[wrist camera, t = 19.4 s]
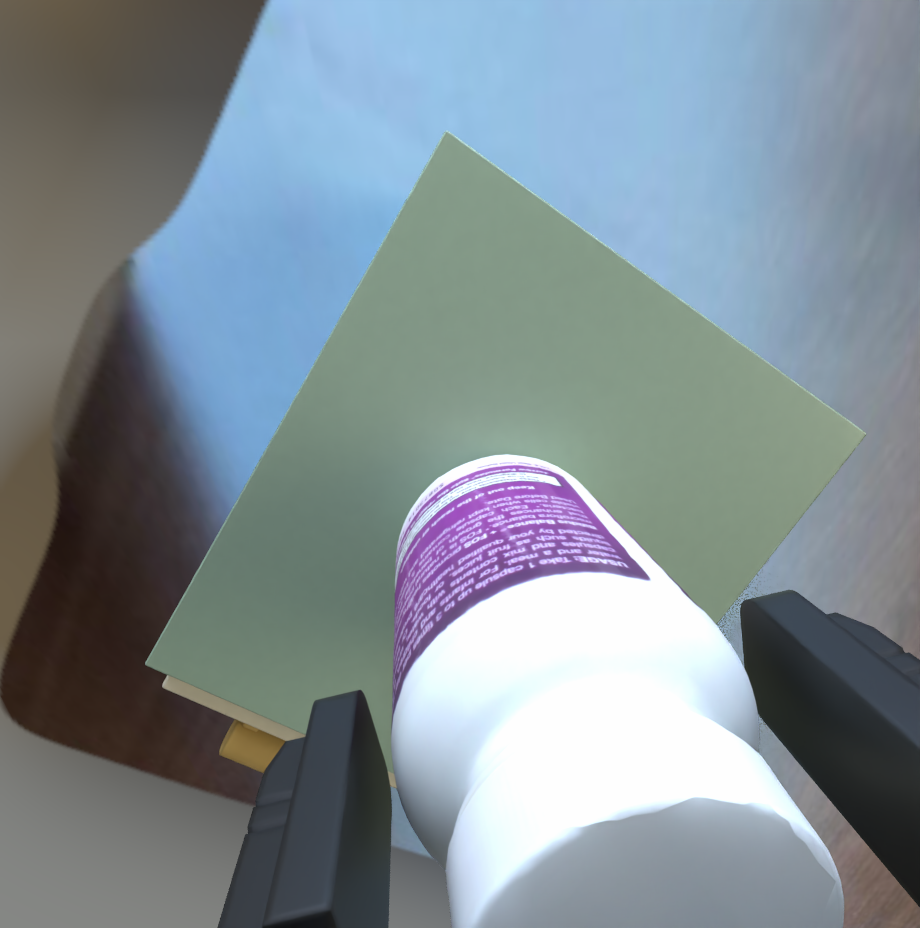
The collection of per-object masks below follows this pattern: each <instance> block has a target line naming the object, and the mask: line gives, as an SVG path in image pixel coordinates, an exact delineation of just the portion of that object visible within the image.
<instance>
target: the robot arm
mask: <svg viewBox="0 0 920 928" xmlns="http://www.w3.org/2000/svg"><path fill="white" fill-rule="evenodd" d="M740 616H741V629H742V641H743V653H744V666H745V671H746V673H747V675H748V678H749V681H750V684H751V687H752V690H753V693H754V697H755V700H756V705H757V711H758V714H759V715H760V717H761V718H762V719H763V721H764V722H765V723H766V724H767V726H768V727H769V728H770V729H771V730H772V732H773V733H774V734H775V735H776V736H777V738H778V739H779V740H780V741H781V742H782V744H783V745H784V746H785V747H786V748H787V750H788V751H789V752H790V753H791V754H792V755H793V757H794V758H795V759H796V760H797V761H798V763H799V764H800V765H801V766H802V767H803V769H804V770H805V771H806V772H807V773H808V775H809V776H810V777H811V778H812V779H813V781H814V782H815V783H816V784H817V785H818V787H819V788H820V789H821V790H822V791H823V792H824V794H825V795H826V796H827V797H828V798H829V800H830V801H831V802H832V803H833V804H834V806H835V807H836V808H837V809H838V810H839V812H840V813H841V814H842V815H843V816H844V818H845V819H846V820H847V821H848V822H849V823H850V825H851V826H852V827H853V828H854V829H855V831H856V832H857V833H858V834H859V835H860V837H861V838H862V839H863V840H864V841H865V843H866V844H867V845H868V846H869V847H870V849H871V850H872V851H873V852H874V853H875V855H876V856H877V857H878V858H879V859H880V860H881V862H882V863H883V864H884V865H885V866H886V868H887V869H888V870H889V871H890V872H891V874H892V875H893V876H894V877H895V878H896V880H897V881H898V882H899V883H900V884H901V886H902V887H903V888H904V889H905V890H906V891H907V893H908V894H909V895H910V896H911V897H912V899H913V900H914V901H915V902H916V903H917V905H918V906H919V907H920V660H919V659H917V658H916V657H914V656H913V655H912V654H910V653H905V652H904V651H903V648H902V647H900V646H899V645H898V644H896V643H895V642H893V641H892V640H891V639H889V638H888V637H886V636H885V635H884V634H882V633H881V632H879V631H878V630H877V629H875V628H874V627H872V626H869V625H866V624H864V623H861V622H859V621H856V620H854V619H851V618H849V617H846V616H844V615H841V614H838V613H832V614H827V615H826V614H825V613H824V612H822V611H821V610H820V609H818V608H817V607H816V606H814V605H813V604H812V603H810V602H809V601H808V600H807V599H805V598H804V597H803V596H801V595H800V594H799V593H797V592H795V591H793V590H786V591H782V592H778V593H773V594H769V595H765V596H761V597H756V598H752V599H748V600H744V601H743V603H742V604H741V609H740ZM255 802H256V807H254V808H253V811H252V814H251V818H250V821H249V824H248V834H246V835H245V838H244V841H243V844H242V848H241V851H240V855H239V858H238V861H237V864H236V868H235V871H234V874H233V878H232V881H231V885H230V888H229V891H228V895H227V898H226V901H225V904H224V908H223V912H222V914H221V918H220V921H219V924H218V928H388V921H389V918H388V917H389V887H390V885H389V884H390V852H391V818H392V799H391V788H390V781H389V775H388V770H387V766H386V763H385V759H384V756H383V753H382V749H381V746H380V743H379V739H378V736H377V733H376V729H375V726H374V723H373V720H372V716H371V713H370V710H369V706H368V703H367V700H366V697H365V695H364V693H363V691H362V690H356V691H352V692H348V693H343V694H339V695H335V696H331V697H326V698H322V699H318V700H315V701H314V703H313V706H312V710H311V714H310V718H309V723H308V727H307V731H306V736H305V737H302V738H298V739H294V740H289V741H285V743H284V744H283V746H282V747H281V748H280V750H279V751H278V753H277V754H276V755H275V757H274V758H273V759H272V761H271V762H270V764H269V765H268V766H267V768H266V769H265V771H264V774H263V777H262V781H261V784H260V787H259V791H258V794H257V797H256V801H255Z"/></svg>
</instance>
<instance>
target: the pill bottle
mask: <svg viewBox="0 0 920 928" xmlns="http://www.w3.org/2000/svg"><path fill="white" fill-rule="evenodd" d="M392 690H393V696H392V726H391V751H392V760H393V769H394V775H395V781H396V787H397V790H398V794H399V797H400V800H401V804H402V806H403V809H404V811H405V814H406V816H407V818H408V820H409V822H410V824H411V826H412V828H413V830H414V832H415V833H416V835H417V836H418V838H419V839H420V841H421V843H422V844H423V846H424V847H425V848H426V850H427V851H428V852H429V854H430V855H431V856H432V857H433V858H434V859H435V860H436V861H437V863H438V864H439V865H440V866H441V867H442V868H444V869H445V870H446V885H447V892H448V898H449V905H450V917H451V926H452V928H843V920H844V896H843V891H842V886H841V880H840V877H839V875H838V872H837V869H836V866H835V864H834V862H833V860H832V857H831V855H830V853H829V851H828V849H827V848H826V846H825V845H824V843H823V842H822V840H821V839H820V838H819V836H818V835H817V833H816V832H815V830H814V829H813V828H812V826H811V825H810V824H809V822H808V821H807V819H806V818H805V817H804V815H803V814H802V813H801V811H800V810H799V808H798V807H797V806H796V804H795V803H794V802H793V800H792V799H791V798H790V796H789V795H788V793H787V792H786V791H785V789H784V788H783V787H782V785H781V784H780V782H779V781H778V779H777V778H776V776H775V774H774V773H773V771H772V770H771V769H770V767H769V766H768V764H767V763H766V762H765V761H764V759H763V758H762V757H761V756H760V754H759V740H760V734H759V719H758V711H757V705H756V700H755V697H754V693H753V690H752V687H751V684H750V681H749V678H748V675H747V673H746V671H745V669H744V667H743V665H742V663H741V661H740V659H739V657H738V656H737V654H736V652H735V650H734V649H733V647H732V646H731V644H730V643H729V642H728V640H727V639H726V638H725V636H724V635H723V634H722V632H721V631H720V630H719V628H718V627H717V625H716V624H715V623H714V621H713V620H712V619H711V618H710V617H709V616H708V615H707V614H706V613H705V611H704V610H703V609H702V608H701V607H699V606H698V605H697V604H696V603H695V602H694V601H693V600H692V599H691V598H690V597H689V596H688V594H687V593H686V592H685V591H684V590H683V589H682V588H681V587H680V586H679V585H678V584H677V583H676V582H675V581H674V580H673V579H672V578H671V577H670V576H669V575H668V574H667V573H666V572H665V571H664V570H663V569H662V567H661V566H660V565H659V564H658V563H657V562H656V561H655V560H654V559H653V558H652V557H651V556H650V555H649V554H648V553H647V551H646V550H645V549H644V548H643V547H642V546H641V545H640V544H639V543H638V542H637V541H636V540H635V539H634V538H633V537H632V536H631V535H630V534H629V533H628V532H627V531H626V530H625V529H624V528H623V526H622V525H621V524H620V523H619V522H618V521H617V520H616V519H615V518H614V517H613V516H612V515H611V514H610V513H609V512H608V510H607V509H606V508H605V507H604V506H603V505H602V504H601V503H600V502H599V501H598V500H596V499H595V498H594V497H593V496H592V495H591V494H590V493H589V491H588V490H586V489H585V488H584V486H583V485H582V484H581V483H580V482H579V481H577V480H576V479H575V478H574V477H572V476H571V475H570V474H568V473H567V472H565V471H564V470H562V469H560V468H559V467H557V466H555V465H553V464H550V463H548V462H546V461H543V460H539V459H536V458H531V457H526V456H517V455H508V454H506V455H494V456H489V457H484V458H480V459H477V460H474V461H471V462H468V463H466V464H463V465H461V466H458V467H456V468H454V469H452V470H450V471H449V472H447V473H446V474H444V475H442V476H441V477H439V478H437V479H436V480H435V481H434V482H433V483H432V484H431V485H430V486H429V487H428V488H427V489H426V490H425V491H424V492H423V493H422V494H421V496H420V497H419V498H418V500H417V501H416V503H415V504H414V505H413V507H412V508H411V510H410V512H409V514H408V516H407V518H406V520H405V522H404V524H403V527H402V530H401V533H400V536H399V540H398V545H397V553H396V568H395V611H394V653H393V685H392Z"/></svg>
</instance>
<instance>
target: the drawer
mask: <svg viewBox="0 0 920 928" xmlns="http://www.w3.org/2000/svg"><path fill="white" fill-rule="evenodd" d="M163 688H164V689H167V690H169V691H171V692H174V693H176V694H178V695H181V696H183V697H185V698H187V699H190V700H192V701H194V702H197V703H199V704H201V705H204V706H206V707H208V708H211V709H213V710H215V711H218V712H220V713H222V714H225V715H227V716H229V717H232V718H234V719H235V720H234V722H233V723H232V725H231V727H230V729H229V730H228V732H227V734H226V736H225V738H224V740H223V742H222V745H221V747H220V750H219V754H220V755H221V756H223V757H226V758H228V759H231V760H233V761H235V762H238V763H240V764H243V765H245V766H247V767H250V768H252V769H255V770H257V771H260V772H262V773H264V771H265V769H266V768H267V766H268V765H269V764H270V762H271V761H272V759H273V758H274V757H275V755H276V754H277V753H278V751H279V750H280V748H281V747H282V746H283V744H284V743H285V741H289V740H294V739H298V738H302V737H305V736H306V735H304V734H302V733H299V732H297V731H295V730H293V729H290V728H288V727H286V726H283V725H281V724H279V723H277V722H274V721H272V720H270V719H267V718H265V717H263V716H261V715H258V714H256V713H254V712H251V711H249V710H247V709H245V708H242V707H240V706H238V705H235V704H233V703H231V702H229V701H226V700H224V699H222V698H219V697H217V696H215V695H212V694H210V693H208V692H206V691H203V690H201V689H199V688H196V687H194V686H192V685H190V684H187V683H185V682H183V681H180V680H178V679H176V678H174V677H171V676H169V675H167V677H166V679H165V680H164V682H163ZM388 775H389V781H390V786H392V787H394V788H396V789H397V787H396V781H395V775H394V774H393V773H391V772H389V771H388Z"/></svg>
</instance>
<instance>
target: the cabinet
mask: <svg viewBox="0 0 920 928" xmlns="http://www.w3.org/2000/svg"><path fill="white" fill-rule="evenodd" d="M865 436H866V433H865V432H864V431H862V430H861V429H860V428H858V427H857V426H856V425H854V424H853V423H851V422H850V421H849V420H847V419H846V418H844V417H843V416H842V415H840V414H839V413H838V412H836V411H835V410H833V409H832V408H831V407H829V406H828V405H827V404H825V403H824V402H822V401H821V400H820V399H818V398H817V397H815V396H814V395H813V394H811V393H810V392H809V391H807V390H806V389H804V388H803V387H802V386H800V385H799V384H797V383H796V382H795V381H793V380H792V379H791V378H789V377H788V376H786V375H785V374H784V373H782V372H781V371H779V370H778V369H777V368H775V367H774V366H773V365H771V364H770V363H768V362H767V361H766V360H764V359H763V358H762V357H760V356H759V355H757V354H756V353H755V352H753V351H752V350H750V349H749V348H748V347H746V346H745V345H744V344H742V343H741V342H739V341H738V340H737V339H735V338H734V337H732V336H731V335H730V334H728V333H727V332H726V331H724V330H723V329H721V328H720V327H719V326H717V325H716V324H714V323H713V322H712V321H710V320H709V319H708V318H706V317H705V316H703V315H702V314H701V313H699V312H698V311H697V310H695V309H694V308H692V307H691V306H690V305H688V304H687V303H685V302H684V301H683V300H681V299H680V298H679V297H677V296H676V295H674V294H673V293H672V292H670V291H669V290H667V289H666V288H665V287H663V286H662V285H661V284H659V283H658V282H656V281H655V280H654V279H652V278H651V277H649V276H648V275H647V274H645V273H644V272H643V271H641V270H640V269H638V268H637V267H636V266H634V265H633V264H632V263H630V262H629V261H627V260H626V259H625V258H623V257H622V256H620V255H619V254H618V253H616V252H615V251H614V250H612V249H611V248H609V247H608V246H607V245H605V244H604V243H602V242H601V241H600V240H598V239H597V238H596V237H594V236H593V235H591V234H590V233H589V232H587V231H586V230H584V229H583V228H582V227H580V226H579V225H578V224H576V223H575V222H573V221H572V220H571V219H569V218H568V217H566V216H565V215H564V214H562V213H561V212H560V211H558V210H557V209H555V208H554V207H553V206H551V205H550V204H549V203H547V202H546V201H544V200H543V199H542V198H540V197H539V196H537V195H536V194H535V193H533V192H532V191H531V190H529V189H528V188H526V187H525V186H524V185H522V184H521V183H519V182H518V181H517V180H515V179H514V178H513V177H511V176H510V175H508V174H507V173H506V172H504V171H503V170H501V169H500V168H499V167H497V166H496V165H495V164H493V163H492V162H490V161H489V160H488V159H486V158H485V157H484V156H482V155H481V154H479V153H478V152H477V151H475V150H474V149H472V148H471V147H470V146H468V145H467V144H466V143H464V142H463V141H461V140H460V139H459V138H457V137H456V136H454V135H453V134H452V133H450V132H449V131H445V132H444V134H443V136H442V137H441V139H440V141H439V143H438V144H437V146H436V148H435V150H434V151H433V153H432V155H431V157H430V159H429V160H428V162H427V164H426V166H425V167H424V169H423V171H422V173H421V175H420V176H419V178H418V180H417V182H416V183H415V185H414V187H413V189H412V191H411V192H410V194H409V196H408V198H407V199H406V201H405V203H404V205H403V207H402V208H401V210H400V212H399V214H398V215H397V217H396V219H395V221H394V222H393V224H392V226H391V228H390V230H389V231H388V233H387V235H386V237H385V238H384V240H383V242H382V244H381V246H380V247H379V249H378V251H377V253H376V254H375V256H374V258H373V260H372V262H371V263H370V265H369V267H368V269H367V270H366V272H365V274H364V276H363V277H362V279H361V281H360V283H359V285H358V286H357V288H356V290H355V292H354V293H353V295H352V297H351V299H350V301H349V302H348V304H347V306H346V308H345V309H344V311H343V313H342V315H341V317H340V318H339V320H338V322H337V324H336V325H335V327H334V329H333V331H332V333H331V334H330V336H329V338H328V340H327V341H326V343H325V345H324V347H323V348H322V350H321V352H320V354H319V356H318V357H317V359H316V361H315V363H314V364H313V366H312V368H311V370H310V372H309V373H308V375H307V377H306V379H305V380H304V382H303V384H302V386H301V388H300V389H299V391H298V393H297V395H296V396H295V398H294V400H293V402H292V404H291V405H290V407H289V409H288V411H287V412H286V414H285V416H284V418H283V419H282V421H281V423H280V425H279V427H278V428H277V430H276V432H275V434H274V435H273V437H272V439H271V441H270V443H269V444H268V446H267V448H266V450H265V451H264V453H263V455H262V457H261V459H260V460H259V462H258V464H257V466H256V467H255V469H254V471H253V473H252V474H251V476H250V478H249V480H248V482H247V483H246V485H245V487H244V489H243V490H242V492H241V494H240V496H239V498H238V499H237V501H236V503H235V505H234V506H233V508H232V510H231V512H230V514H229V515H228V517H227V519H226V521H225V522H224V524H223V526H222V528H221V530H220V531H219V533H218V535H217V537H216V538H215V540H214V542H213V544H212V545H211V547H210V549H209V551H208V553H207V554H206V556H205V558H204V560H203V561H202V563H201V565H200V567H199V569H198V570H197V572H196V574H195V576H194V577H193V579H192V581H191V583H190V585H189V586H188V588H187V590H186V592H185V593H184V595H183V597H182V599H181V600H180V602H179V604H178V606H177V608H176V609H175V611H174V613H173V615H172V616H171V618H170V620H169V622H168V624H167V625H166V627H165V629H164V631H163V632H162V634H161V636H160V638H159V640H158V641H157V643H156V645H155V647H154V648H153V650H152V652H151V654H150V656H149V657H148V659H147V661H146V663H145V665H146V666H148V667H151V668H153V669H155V670H158V671H160V672H162V673H164V674H167V675H169V676H171V677H174V678H176V679H178V680H180V681H183V682H185V683H187V684H190V685H192V686H194V687H196V688H199V689H201V690H203V691H206V692H208V693H210V694H212V695H215V696H217V697H219V698H222V699H224V700H226V701H229V702H231V703H233V704H235V705H238V706H240V707H242V708H245V709H247V710H249V711H251V712H254V713H256V714H258V715H261V716H263V717H265V718H267V719H270V720H272V721H274V722H277V723H279V724H281V725H283V726H286V727H288V728H290V729H293V730H295V731H297V732H299V733H302V734H304V735H306V731H307V727H308V723H309V718H310V714H311V710H312V706H313V703H314V701H315V700H318V699H322V698H326V697H331V696H335V695H339V694H343V693H348V692H352V691H356V690H362V691H363V693H364V695H365V697H366V700H367V703H368V706H369V710H370V713H371V716H372V720H373V723H374V726H375V729H376V733H377V736H378V739H379V743H380V746H381V749H382V753H383V756H384V759H385V763H386V766H387V770H388V771H389V772H391V773H393V774H394V769H393V760H392V751H391V726H392V696H393V690H392V685H393V653H394V611H395V568H396V553H397V545H398V540H399V536H400V533H401V530H402V527H403V524H404V522H405V520H406V518H407V516H408V514H409V512H410V510H411V508H412V507H413V505H414V504H415V503H416V501H417V500H418V498H419V497H420V496H421V494H422V493H423V492H424V491H425V490H426V489H427V488H428V487H429V486H430V485H431V484H432V483H433V482H434V481H435V480H436V479H437V478H439V477H441V476H442V475H444V474H446V473H447V472H449V471H450V470H452V469H454V468H456V467H458V466H461V465H463V464H466V463H468V462H471V461H474V460H477V459H480V458H484V457H489V456H494V455H506V454H508V455H517V456H526V457H531V458H536V459H539V460H543V461H546V462H548V463H550V464H553V465H555V466H557V467H559V468H560V469H562V470H564V471H565V472H567V473H568V474H570V475H571V476H572V477H574V478H575V479H576V480H577V481H579V482H580V483H581V484H582V485H583V486H584V488H585V489H586V490H588V491H589V493H590V494H591V495H592V496H593V497H594V498H595V499H596V500H598V501H599V502H600V503H601V504H602V505H603V506H604V507H605V508H606V509H607V510H608V512H609V513H610V514H611V515H612V516H613V517H614V518H615V519H616V520H617V521H618V522H619V523H620V524H621V525H622V526H623V528H624V529H625V530H626V531H627V532H628V533H629V534H630V535H631V536H632V537H633V538H634V539H635V540H636V541H637V542H638V543H639V544H640V545H641V546H642V547H643V548H644V549H645V550H646V551H647V553H648V554H649V555H650V556H651V557H652V558H653V559H654V560H655V561H656V562H657V563H658V564H659V565H660V566H661V567H662V569H663V570H664V571H665V572H666V573H667V574H668V575H669V576H670V577H671V578H672V579H673V580H674V581H675V582H676V583H677V584H678V585H679V586H680V587H681V588H682V589H683V590H684V591H685V592H686V593H687V594H688V596H689V597H690V598H691V599H692V600H693V601H694V602H695V603H696V604H697V605H698V606H699V607H701V608H702V609H703V610H704V611H705V613H706V614H707V615H708V616H709V617H710V618H711V619H712V620H713V621H714V623H715V624H716V625H717V624H718V622H719V621H720V620H721V619H722V617H723V616H724V615H725V613H726V612H727V611H728V610H729V608H730V607H731V606H732V605H733V603H734V602H735V601H736V599H737V598H738V597H739V596H740V594H741V593H742V592H743V591H744V589H745V588H746V587H747V586H748V584H749V583H750V582H751V580H752V579H753V578H754V577H755V575H756V574H757V573H758V572H759V570H760V569H761V568H762V566H763V565H764V564H765V563H766V561H767V560H768V559H769V558H770V556H771V555H772V554H773V553H774V551H775V550H776V549H777V547H778V546H779V545H780V544H781V542H782V541H783V540H784V539H785V537H786V536H787V535H788V533H789V532H790V531H791V530H792V528H793V527H794V526H795V525H796V523H797V522H798V521H799V520H800V518H801V517H802V516H803V514H804V513H805V512H806V511H807V509H808V508H809V507H810V506H811V504H812V503H813V502H814V500H815V499H816V498H817V497H818V495H819V494H820V493H821V492H822V490H823V489H824V488H825V487H826V485H827V484H828V483H829V481H830V480H831V479H832V478H833V476H834V475H835V474H836V473H837V471H838V470H839V469H840V468H841V466H842V465H843V464H844V462H845V461H846V460H847V459H848V457H849V456H850V455H851V454H852V452H853V451H854V450H855V448H856V447H857V446H858V445H859V443H860V442H861V441H862V440H863V438H864V437H865Z"/></svg>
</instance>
